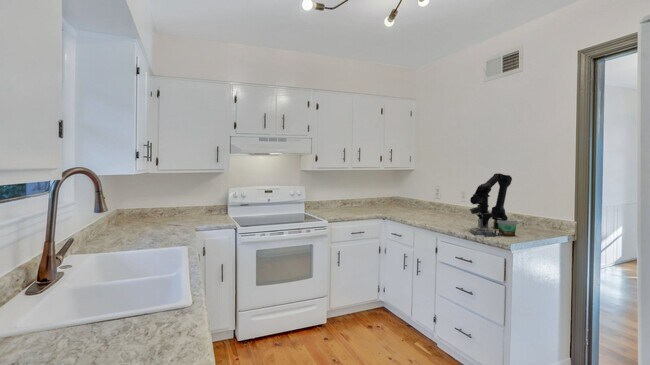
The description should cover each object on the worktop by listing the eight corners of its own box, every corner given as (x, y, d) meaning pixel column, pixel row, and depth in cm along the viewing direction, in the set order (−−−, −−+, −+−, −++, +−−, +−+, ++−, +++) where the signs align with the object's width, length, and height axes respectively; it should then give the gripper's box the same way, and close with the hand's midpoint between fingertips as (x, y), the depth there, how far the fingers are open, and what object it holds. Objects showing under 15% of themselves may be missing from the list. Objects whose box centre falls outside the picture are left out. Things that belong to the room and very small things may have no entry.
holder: (487, 232, 215) (487, 228, 214) (493, 235, 205) (493, 231, 205) (470, 232, 216) (470, 228, 216) (475, 235, 206) (475, 231, 206)
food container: (500, 236, 202) (500, 221, 202) (496, 234, 208) (496, 219, 208) (520, 237, 200) (521, 221, 200) (516, 235, 206) (517, 219, 206)
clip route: (495, 233, 211) (495, 229, 210) (502, 237, 200) (502, 233, 200) (477, 233, 212) (477, 229, 212) (483, 236, 201) (483, 232, 201)
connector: (485, 227, 222) (485, 218, 222) (488, 228, 217) (488, 219, 217) (477, 227, 223) (478, 218, 223) (480, 228, 218) (480, 219, 218)
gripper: (467, 201, 230) (466, 223, 230) (475, 205, 211) (475, 227, 212) (483, 202, 228) (482, 223, 229) (493, 205, 210) (492, 228, 210)
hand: (483, 225), depth 220 cm, fingers closed on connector, 5 cm apart
